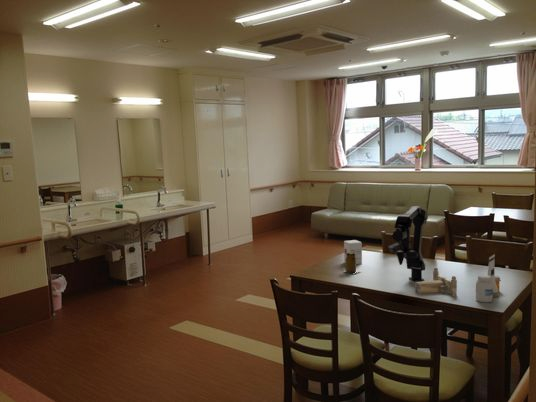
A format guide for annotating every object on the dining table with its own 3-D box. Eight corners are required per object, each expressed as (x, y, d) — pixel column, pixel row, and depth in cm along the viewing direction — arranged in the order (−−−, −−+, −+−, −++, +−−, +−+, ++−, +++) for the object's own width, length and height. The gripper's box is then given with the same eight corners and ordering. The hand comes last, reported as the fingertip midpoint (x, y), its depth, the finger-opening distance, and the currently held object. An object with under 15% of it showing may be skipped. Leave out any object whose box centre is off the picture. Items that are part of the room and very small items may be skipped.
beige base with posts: (427, 285, 257) (427, 267, 255) (436, 284, 257) (436, 266, 256) (447, 296, 237) (447, 277, 236) (456, 295, 238) (457, 276, 236)
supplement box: (343, 262, 313) (343, 240, 311) (355, 261, 316) (355, 239, 314) (350, 265, 304) (349, 243, 303) (362, 264, 307) (362, 241, 305)
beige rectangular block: (415, 291, 247) (415, 282, 246) (439, 289, 249) (440, 280, 249) (419, 293, 243) (419, 284, 242) (443, 291, 245) (444, 282, 245)
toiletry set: (489, 304, 224) (490, 262, 221) (473, 301, 229) (474, 260, 226) (504, 291, 242) (505, 252, 240) (488, 288, 247) (489, 250, 245)
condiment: (349, 270, 294) (349, 251, 292) (361, 272, 288) (360, 253, 287) (342, 272, 288) (342, 253, 287) (354, 274, 283) (354, 255, 281)
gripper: (383, 236, 257) (383, 263, 259) (397, 242, 239) (397, 272, 241) (402, 234, 259) (402, 262, 261) (418, 241, 241) (418, 270, 242)
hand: (404, 266), depth 251 cm, fingers open, 9 cm apart
